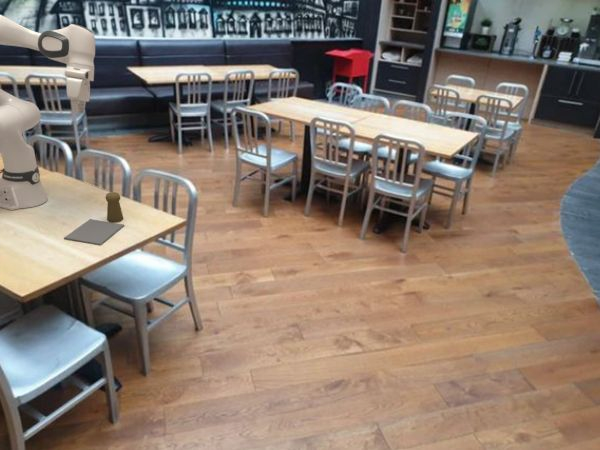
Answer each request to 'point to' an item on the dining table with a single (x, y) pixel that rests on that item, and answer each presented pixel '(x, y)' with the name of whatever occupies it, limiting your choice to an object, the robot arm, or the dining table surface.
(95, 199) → the dining table surface
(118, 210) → the cork
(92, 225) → the rubber mat
